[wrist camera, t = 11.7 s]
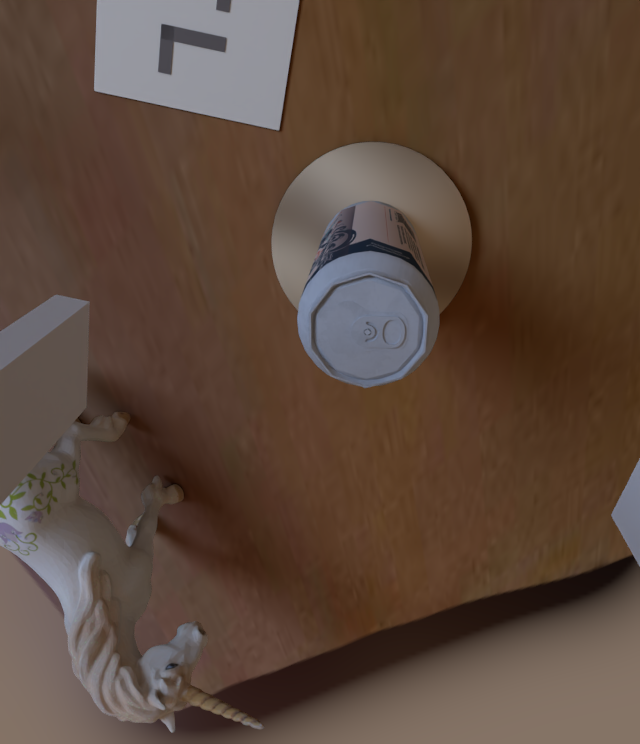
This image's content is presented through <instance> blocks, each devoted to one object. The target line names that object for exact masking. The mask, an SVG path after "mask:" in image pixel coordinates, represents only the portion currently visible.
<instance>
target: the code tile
mask: <svg viewBox="0 0 640 744" xmlns="http://www.w3.org/2000/svg"><path fill="white" fill-rule="evenodd" d="M298 6H299V0H97V18H96V49H95V80H94V91H97V92H102V93H106V94H111V95H116V96H120V97H125V98H129V99H134V100H139V101H143V102H148V103H153V104H157V105H162V106H167V107H171V108H176V109H181V110H185V111H190V112H195V113H199V114H204V115H209V116H213V117H218V118H223V119H227V120H232V121H237V122H241V123H246V124H251V125H255V126H260V127H265V128H269V129H274V130H279V129H280V123H281V116H282V110H283V103H284V97H285V90H286V84H287V78H288V71H289V65H290V58H291V52H292V45H293V39H294V32H295V26H296V19H297V13H298Z"/></svg>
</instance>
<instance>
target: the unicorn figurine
mask: <svg viewBox="0 0 640 744" xmlns="http://www.w3.org/2000/svg"><path fill="white" fill-rule="evenodd" d="M129 421H130V415H129V414H128V413H126V412H115V413H114V414H113V416H107V417H106V416H102V415H101V416H97V417H95V418H94V419H93V420H92V421H91V424H90V425H88V424H83V423H80V420H79V419H78V418H77V419H76V420H75V421H74V422H73V423H72V425H71V426H70V427H69V428H68V429H67V430H66V431H65V432H64V434H63V435H62V436H61V437H60V438H59V439H58V440H57V442H56V444H55V446H54V448H53V449H52V451H51V452H47V453H46V454H45V455H44V456H43V457H42V459H41V460H40V461H39V462H38V463H37V464H36V465H35V466H34V468H33V469H32V470H31V471H30V472H29V473H28V474H27V476H26V477H25V478H24V479H23V480H22V481H21V482H20V483H19V485H18V486H17V487H16V488H15V489H14V490H13V491H12V493H11V494H10V495H9V496H8V497H7V498H6V499H5V501H4V502H3V503H2V504H1V505H0V546H2V547H4V548H5V549H7V550H9V551H11V552H12V553H14V554H15V555H17V556H18V557H19V558H21V559H22V560H23V561H24V562H25V563H27V564H28V565H29V566H30V567H31V568H32V569H33V570H34V571H35V572H36V573H37V574H38V575H39V576H40V577H41V578H42V579H43V580H44V581H45V582H46V583H47V584H48V585H49V586H50V587H51V588H52V589H53V590H54V592H55V593H56V595H57V596H58V598H59V600H60V602H61V605H62V607H63V610H64V613H65V622H64V623H65V628H66V632H67V634H68V650H69V653H70V655H71V657H72V668H73V671H74V674H75V675H76V676H77V678H78V679H80V680H81V683H82V685H83V686H84V687H85V689H86V690H87V691H88V692H89V693H90V694H91V696H92V698H93V700H94V702H95V704H96V705H97V706H98V707H99V709H100V710H101V711H102V712H103V713H105V714H107V715H110V716H116V717H117V718H118V719H119V720H120V721H128V720H130V721H131V722H136V723H140V722H146V723H153V722H155V721H156V720H157V719H160V720H161V721H162V722H164V723H165V724H166V725H167V727H168V728H169V730H170V731H171V732H175V718H174V711H178V710H181V709H183V708H184V707H185V705H186V704H187V702H189V703H190V704H191V705H193V706H200V707H201V708H202V709H204V710H210V711H211V712H213V713H215V714H221V715H222V716H224V717H225V718H230V719H232V720H234V721H238V722H241V723H243V724H244V725H250V726H251V727H253V728H256V729H263V728H264V725H263V724H262V723H261V722H260V721H259V720H257V719H255V718H253V717H251V716H250V715H248V714H246V713H243V712H242V711H241V710H239V709H236V708H233V707H232V706H231V705H229V704H226V703H225V702H223V701H221V700H219V699H217V698H215V697H213V696H212V695H210V694H208V693H205V692H203V691H202V690H201V689H198V688H196V687H194V686H192V685H190V683H191V675H192V672H193V670H194V668H195V667H196V665H197V663H198V661H199V659H200V657H201V654H202V651H203V648H204V647H205V646H206V644H207V641H208V637H207V634H206V632H205V631H204V629H203V627H202V625H201V623H199V622H197V621H195V622H187V623H186V624H183V625H180V626H179V627H178V629H177V635H176V637H175V638H174V639H173V640H171V641H170V642H169V643H168V644H164V645H158V646H154V647H152V648H150V649H149V650H148V651H147V652H146V653H145V654H144V655H143V656H142V655H141V654H140V652H139V650H138V647H137V644H136V640H135V636H134V627H135V624H136V622H137V620H138V619H139V618H140V617H141V615H142V614H143V613H144V611H145V609H146V607H147V604H148V602H149V599H150V596H151V592H152V586H151V576H152V568H153V564H152V561H153V555H154V552H153V538H154V535H155V533H156V529H157V519H158V513H159V510H160V508H161V507H162V506H163V505H164V504H166V503H167V504H175V503H178V502H181V501H182V500H183V498H184V493H183V490H182V488H181V487H180V486H178V485H177V484H173V485H171V486H169V487H167V488H166V487H163V488H162V486H163V485H162V482H161V479H160V477H159V476H155V477H154V478H153V481H152V483H151V484H149V485H148V486H147V487H146V488H145V489H144V490H143V492H142V494H141V499H142V502H143V504H144V506H145V512H144V514H143V515H141V516H140V517H138V518H137V519H136V520H135V521H134V522H133V523H132V525H131V526H129V529H128V530H127V536H126V543H127V545H128V546H127V545H126V544H125V542H124V540H123V538H122V537H121V535H120V534H119V532H118V531H117V529H116V528H115V527H114V525H113V524H112V522H111V521H110V520H109V518H108V517H107V516H106V515H105V514H104V513H103V512H102V511H101V510H99V509H98V508H97V507H95V506H94V505H93V504H91V503H89V502H87V501H86V500H84V499H82V498H81V497H80V496H79V486H80V478H79V464H80V458H81V450H80V448H81V441H87V440H89V441H103V442H114V441H116V440H117V439H118V438H119V437H120V436H121V435H122V434H123V433H124V431H125V429H126V426H127V425H128V423H129Z"/></svg>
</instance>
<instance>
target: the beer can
mask: <svg viewBox="0 0 640 744" xmlns="http://www.w3.org/2000/svg"><path fill="white" fill-rule="evenodd" d="M297 322H298V331H299V336H300V339H301V341H302V344H303V346H304V349H305V351H306V352H307V354H308V355H309V356H310V358H311V359H312V360H313V361H314V363H315V364H316V365H317V366H318V367H319V368H320V369H321V370H322V371H324V372H325V373H326V374H327V375H329V376H331V377H333V378H335V379H338V380H340V381H342V382H345V383H347V384H352V385H358V386H361V387H364V388H368V387H372V386H379V385H385V384H388V383H391V382H394V381H397V380H399V379H402V378H404V377H406V376H407V375H409V374H410V373H412V372H413V371H414V370H416V369H417V368H418V367H419V365H420V364H421V363H422V362H423V361H424V360H425V359H426V358H427V356H428V355H429V354H430V352H431V350H432V348H433V346H434V343H435V341H436V339H437V334H438V330H439V325H440V321H439V306H438V301H437V298H436V295H435V291H434V288H433V285H432V282H431V279H430V276H429V272H428V269H427V266H426V263H425V260H424V257H423V253H422V250H421V247H420V244H419V241H418V238H417V235H416V232H415V230H414V227H413V225H412V224H411V222H410V221H409V220H408V218H407V217H406V216H405V215H404V214H403V213H402V212H401V211H400V210H398V209H397V208H395V207H393V206H391V205H389V204H386V203H383V202H379V201H362V202H358V203H355V204H352V205H350V206H348V207H346V208H344V209H342V210H341V211H340V212H339V213H337V214H336V215H335V217H334V218H333V219H332V220H331V222H330V223H329V224H328V226H327V228H326V230H325V232H324V234H323V237H322V240H321V243H320V245H319V248H318V251H317V254H316V257H315V259H314V262H313V265H312V268H311V271H310V273H309V276H308V279H307V282H306V285H305V287H304V290H303V293H302V296H301V299H300V302H299V308H298V319H297Z"/></svg>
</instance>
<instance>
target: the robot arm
mask: <svg viewBox="0 0 640 744" xmlns="http://www.w3.org/2000/svg"><path fill="white" fill-rule="evenodd" d="M89 303H90V302H88V301H83V300H79V299H74V298H69V297H64V296H59V295H55V296H53V297H52V298H50V299H49V300H47V301H46V302H44V303H43V304H41V305H40V306H38V307H37V308H35V309H34V310H32V311H31V312H29V313H28V314H26V315H25V316H23V317H21V318H20V319H18V320H17V321H15V322H14V323H12V324H11V325H9V326H8V327H6V328H5V329H3V330H2V331H0V505H1V504H2V503H3V502H4V501H5V499H6V498H7V497H8V496H9V495H10V494H11V493H12V491H13V490H14V489H15V488H16V487H17V486H18V485H19V483H20V482H21V481H22V480H23V479H24V478H25V477H26V476H27V474H28V473H29V472H30V471H31V470H32V469H33V468H34V466H35V465H36V464H37V463H38V462H39V461H40V460H41V459H42V457H43V456H44V455H45V454H46V453H47V452H48V451H49V449H50V448H51V447H52V446H53V445H54V444H55V443H56V442H57V440H58V439H59V438H60V437H61V436H62V435H63V434H64V432H65V431H66V430H67V429H68V428H69V427H70V426H71V425H72V423H73V422H74V421H75V420H76V419H77V418H78V417H79V415H80V414H81V413H82V412H83V411H84V410H85V409H86V407H87V374H88V338H89ZM611 516H612V518H613V520H614V522H615V523H616V525H617V527H618V529H619V530H620V532H621V534H622V536H623V538H624V539H625V541H626V543H627V545H628V546H629V548H630V550H631V552H632V554H633V555H634V557H635V559H636V561H637V562H638V564H639V566H640V459H639V461H638V463H637V465H636V467H635V469H634V471H633V473H632V475H631V477H630V479H629V481H628V483H627V485H626V487H625V489H624V491H623V493H622V495H621V496H620V498H619V500H618V502H617V504H616V506H615V508H614V510H613V512H612V514H611Z"/></svg>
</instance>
